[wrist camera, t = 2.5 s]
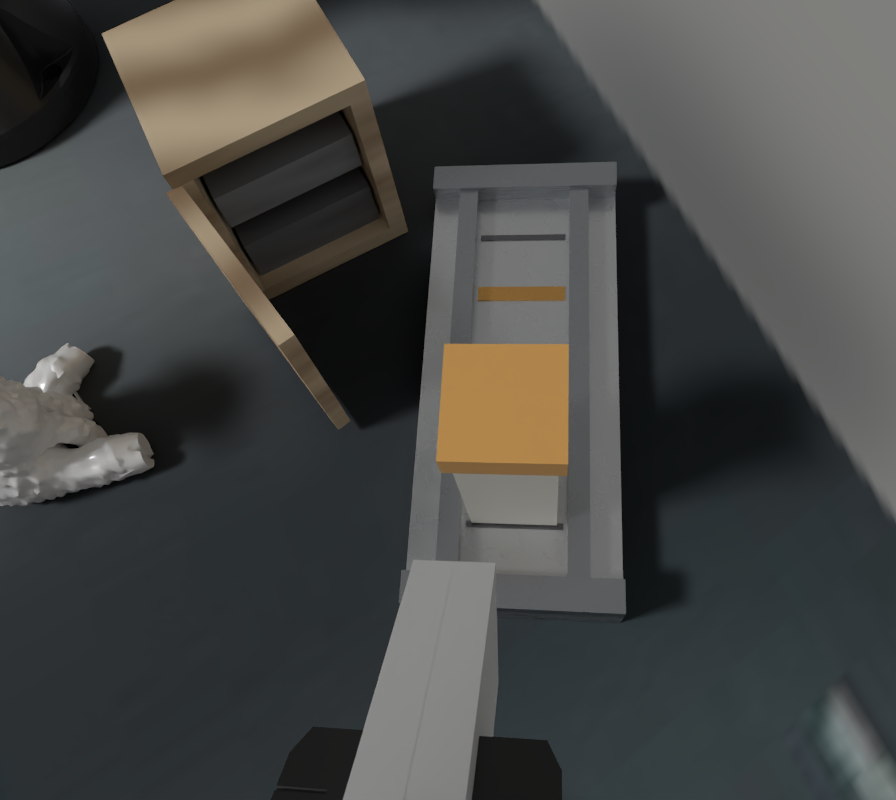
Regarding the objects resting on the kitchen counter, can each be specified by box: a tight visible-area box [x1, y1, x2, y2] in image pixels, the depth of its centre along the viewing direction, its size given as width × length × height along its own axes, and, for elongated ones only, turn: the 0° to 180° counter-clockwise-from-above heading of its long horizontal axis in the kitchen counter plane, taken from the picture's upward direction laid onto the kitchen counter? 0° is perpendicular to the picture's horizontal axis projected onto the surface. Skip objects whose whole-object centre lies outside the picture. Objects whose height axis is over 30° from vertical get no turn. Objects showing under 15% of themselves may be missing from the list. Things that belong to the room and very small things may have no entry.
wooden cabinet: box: [102, 0, 408, 430], centre depth 41 cm, size 20×10×12 cm, turn 26°
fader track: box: [399, 162, 626, 623], centre depth 41 cm, size 24×10×3 cm, turn 176°
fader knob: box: [436, 344, 569, 526], centre depth 33 cm, size 5×5×10 cm
